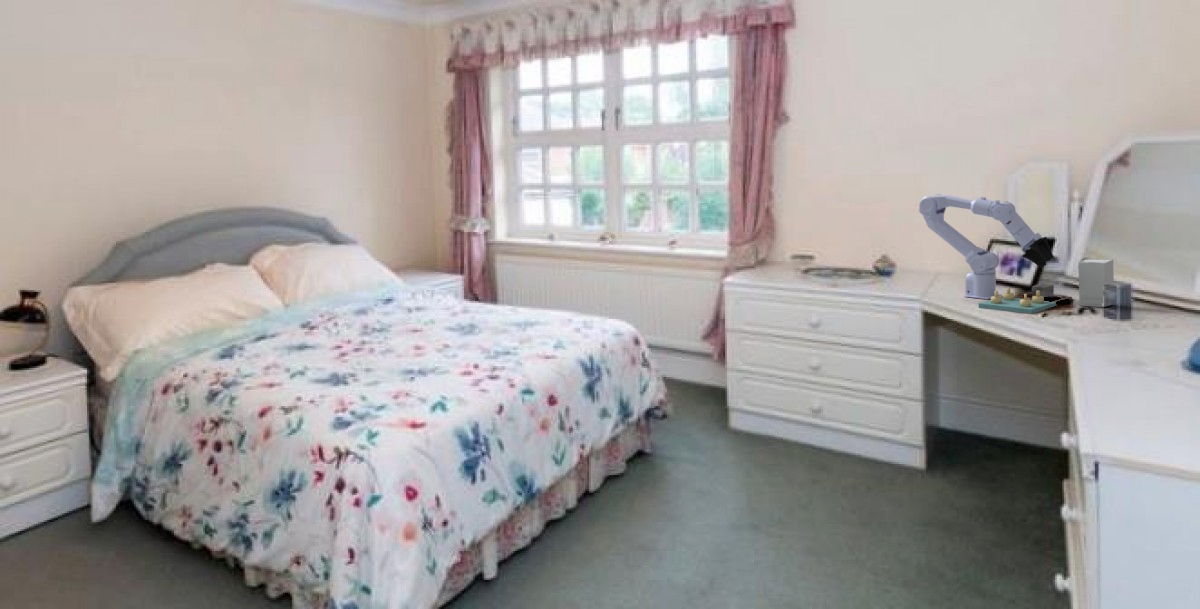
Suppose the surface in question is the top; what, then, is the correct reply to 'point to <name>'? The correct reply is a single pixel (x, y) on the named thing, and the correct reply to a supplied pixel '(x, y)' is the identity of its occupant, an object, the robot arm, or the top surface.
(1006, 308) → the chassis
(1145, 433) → the top surface
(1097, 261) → the skincare box
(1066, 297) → the board
